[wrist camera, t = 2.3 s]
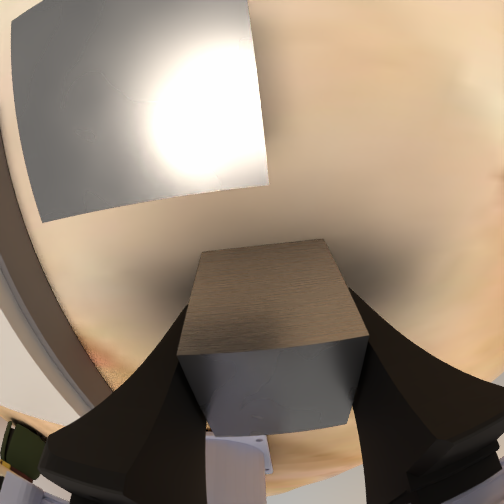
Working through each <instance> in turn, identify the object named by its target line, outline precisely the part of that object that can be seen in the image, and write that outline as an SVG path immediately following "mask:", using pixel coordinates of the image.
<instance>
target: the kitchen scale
mask: <svg viewBox="0 0 504 504" xmlns="http://www.w3.org/2000/svg"><path fill="white" fill-rule="evenodd" d="M112 393H113V392H112V390H111V389H110V388H109V386H108V385H107V383H106V382H105V381H104V379H103V378H102V376H101V375H100V373H99V372H98V370H97V369H96V367H95V366H94V364H93V363H92V361H91V360H90V358H89V357H88V355H87V353H86V352H85V350H84V349H83V347H82V345H81V344H80V342H79V340H78V339H77V337H76V335H75V334H74V332H73V330H72V328H71V327H70V325H69V323H68V321H67V319H66V317H65V316H64V314H63V312H62V310H61V308H60V306H59V304H58V302H57V300H56V298H55V296H54V294H53V292H52V290H51V288H50V286H49V284H48V282H47V279H46V277H45V275H44V273H43V271H42V268H41V266H40V264H39V261H38V259H37V256H36V254H35V252H34V249H33V247H32V244H31V241H30V239H29V236H28V233H27V231H26V228H25V225H24V222H23V219H22V216H21V213H20V210H19V207H18V204H17V200H16V197H15V193H14V190H13V186H12V183H11V179H10V175H9V171H8V167H7V162H6V158H5V153H4V148H3V143H2V138H1V132H0V405H1V406H4V407H6V408H9V409H12V410H14V411H17V412H20V413H23V414H26V415H29V416H32V417H35V418H39V419H42V420H45V421H49V422H53V423H56V424H60V425H64V426H67V425H69V424H71V423H72V422H74V421H75V420H77V419H79V418H80V417H82V416H83V415H85V414H86V413H88V412H89V411H90V410H92V409H93V408H95V407H96V406H97V405H99V404H100V403H101V402H102V401H104V400H105V399H106V398H107V397H108V396H109V395H111V394H112Z"/></svg>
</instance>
